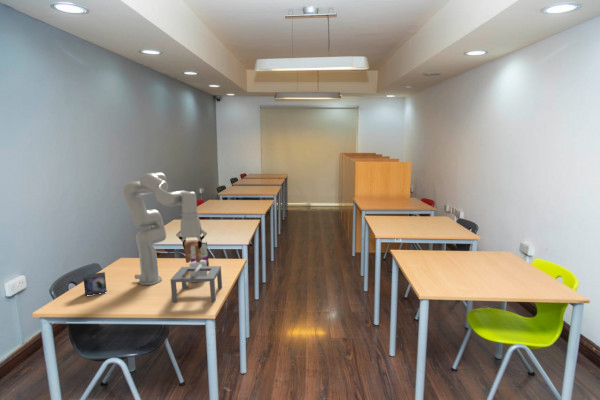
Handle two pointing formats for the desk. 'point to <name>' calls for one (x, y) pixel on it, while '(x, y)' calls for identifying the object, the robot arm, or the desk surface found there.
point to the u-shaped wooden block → (187, 250)
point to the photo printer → (195, 264)
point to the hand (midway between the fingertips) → (192, 248)
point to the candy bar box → (203, 252)
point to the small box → (95, 283)
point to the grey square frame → (197, 279)
